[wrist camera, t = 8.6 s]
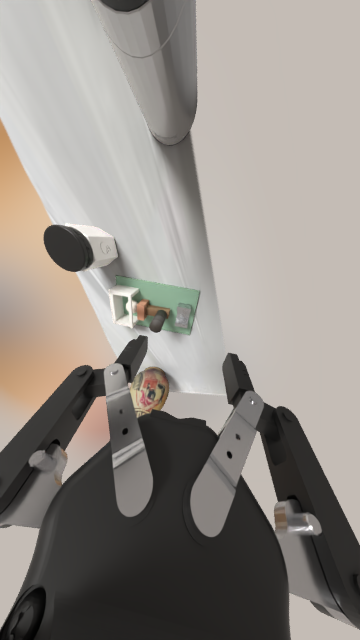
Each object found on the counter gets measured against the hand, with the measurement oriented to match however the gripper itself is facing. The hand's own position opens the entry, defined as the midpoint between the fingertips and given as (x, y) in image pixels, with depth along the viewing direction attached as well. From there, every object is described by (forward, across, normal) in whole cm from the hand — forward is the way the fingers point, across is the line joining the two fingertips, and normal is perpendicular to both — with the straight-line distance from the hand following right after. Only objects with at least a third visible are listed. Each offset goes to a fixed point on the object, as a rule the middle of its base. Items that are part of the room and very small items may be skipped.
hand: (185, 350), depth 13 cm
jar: (+28, +26, -4) cm, 39 cm away
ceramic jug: (+28, +10, +44) cm, 53 cm away
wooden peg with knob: (+27, +10, +11) cm, 31 cm away
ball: (+26, +17, +11) cm, 33 cm away
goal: (+28, +19, +11) cm, 35 cm away
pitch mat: (+28, +10, +11) cm, 32 cm away
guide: (+28, +2, +11) cm, 30 cm away
